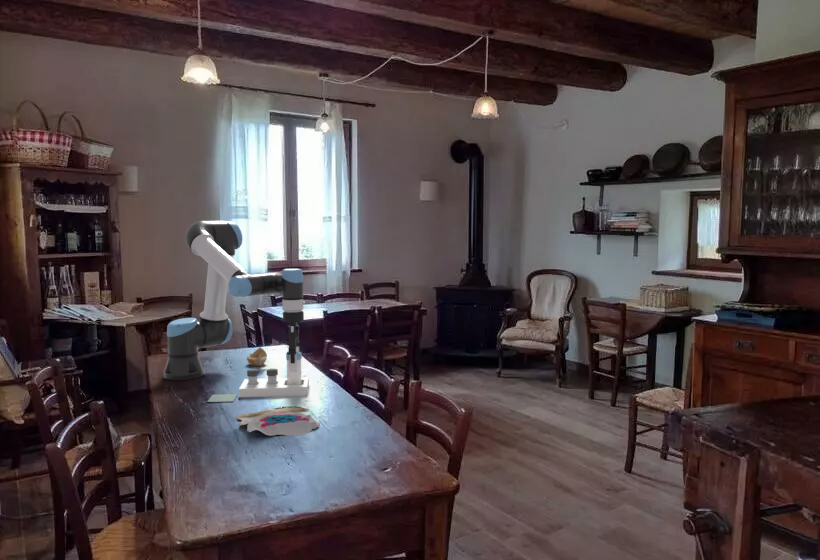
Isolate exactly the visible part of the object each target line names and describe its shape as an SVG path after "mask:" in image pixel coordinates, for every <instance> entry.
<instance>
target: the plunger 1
mask: <svg viewBox="0 0 820 560" xmlns="http://www.w3.org/2000/svg"><path fill="white" fill-rule="evenodd" d="M246 376H247V377H248V378H247V379H248V381H249V385H257V379H258V376H259V369H257V368H256V369H255V368H252V369H247V371H246Z"/></svg>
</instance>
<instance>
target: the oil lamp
mask: <svg viewBox="0 0 820 560" xmlns="http://www.w3.org/2000/svg"><path fill="white" fill-rule="evenodd" d="M267 359H268V354H267V352H266V350H264V349H263V348H262V347H258V348H257V349H256V350H254V352H253V353H249V354H248V355H247V356H246V360H247V363H248V364H249V365H250V366H252V367H259V366H263V365H264V364H265V363H266V361H267Z"/></svg>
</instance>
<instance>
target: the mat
mask: <svg viewBox="0 0 820 560" xmlns="http://www.w3.org/2000/svg"><path fill="white" fill-rule="evenodd" d="M238 396H239V393H226V394H225V393H224V394H223V393H222V394H212V395H211V396H210V397H209V399H208V400H207V402H222V403H234V402H235V401H236V399H237V397H238ZM207 402H206V403H207Z"/></svg>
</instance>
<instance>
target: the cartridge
mask: <svg viewBox="0 0 820 560" xmlns="http://www.w3.org/2000/svg"><path fill="white" fill-rule="evenodd" d="M296 354H297V372H289V355H287V352H286V353H285V359H286V378H287V385H301V377H302V352H301V351H299V352H296Z"/></svg>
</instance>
